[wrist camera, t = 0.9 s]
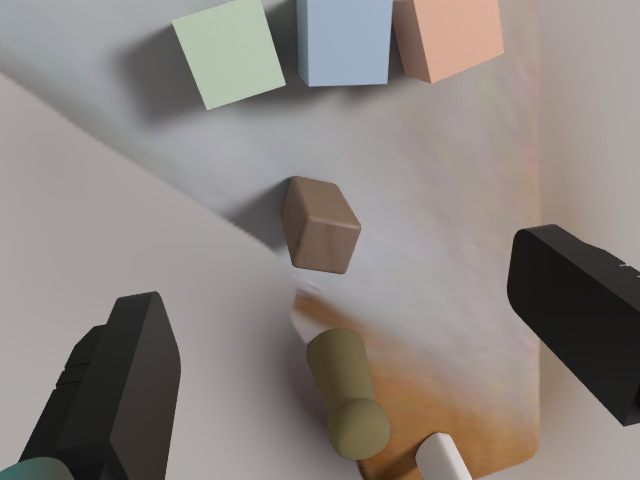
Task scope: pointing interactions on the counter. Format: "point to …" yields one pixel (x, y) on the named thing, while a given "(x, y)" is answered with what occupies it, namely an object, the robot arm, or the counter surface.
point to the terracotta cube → (445, 35)
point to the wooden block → (319, 226)
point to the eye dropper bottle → (440, 459)
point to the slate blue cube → (343, 41)
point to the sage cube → (230, 52)
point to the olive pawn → (348, 394)
